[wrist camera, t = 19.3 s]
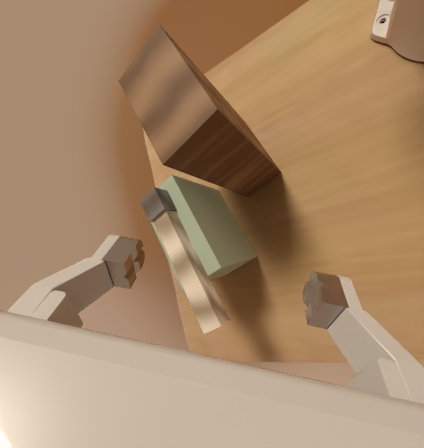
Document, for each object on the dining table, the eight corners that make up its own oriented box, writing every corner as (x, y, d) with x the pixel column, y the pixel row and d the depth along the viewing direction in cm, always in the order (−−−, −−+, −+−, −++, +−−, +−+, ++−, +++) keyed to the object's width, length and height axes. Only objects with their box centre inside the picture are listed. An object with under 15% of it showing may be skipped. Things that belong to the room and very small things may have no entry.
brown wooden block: (280, 172, 43) (217, 109, 21) (248, 196, 47) (162, 164, 24) (244, 121, 47) (158, 23, 25) (216, 147, 51) (118, 81, 28)
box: (257, 256, 45) (221, 267, 31) (227, 274, 49) (182, 291, 35) (218, 190, 50) (171, 174, 36) (193, 210, 54) (142, 203, 40)
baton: (231, 318, 31) (221, 326, 28) (211, 327, 32) (200, 336, 29) (167, 190, 37) (154, 187, 34) (153, 202, 38) (140, 200, 36)
